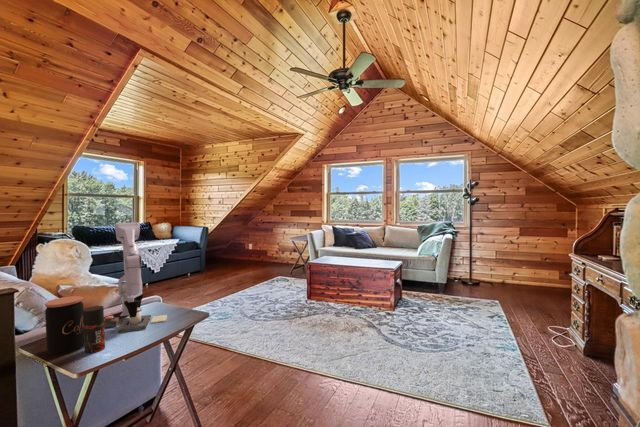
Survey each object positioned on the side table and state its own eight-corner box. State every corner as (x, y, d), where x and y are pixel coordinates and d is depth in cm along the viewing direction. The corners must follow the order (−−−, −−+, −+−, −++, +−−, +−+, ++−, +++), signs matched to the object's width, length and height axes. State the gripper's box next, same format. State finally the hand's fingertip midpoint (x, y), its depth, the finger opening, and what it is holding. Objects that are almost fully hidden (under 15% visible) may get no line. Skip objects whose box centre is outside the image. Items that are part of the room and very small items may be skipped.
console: (103, 324, 135) (102, 319, 135) (119, 322, 137) (118, 317, 137) (99, 328, 130) (99, 323, 130) (116, 326, 132) (115, 320, 132)
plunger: (106, 324, 134) (105, 316, 134) (114, 322, 136) (114, 315, 135) (104, 326, 131) (103, 318, 131) (112, 325, 133) (112, 317, 132)
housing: (125, 321, 138) (125, 318, 138) (150, 317, 142) (150, 314, 142) (117, 333, 125) (117, 329, 125) (145, 328, 129) (145, 325, 129)
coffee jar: (64, 357, 106) (62, 305, 105) (38, 355, 107) (36, 304, 107) (92, 343, 116) (90, 296, 116) (68, 341, 118) (66, 295, 118)
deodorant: (94, 354, 107) (92, 311, 107) (80, 352, 108) (78, 310, 108) (109, 346, 113) (107, 306, 113) (95, 345, 114) (94, 305, 114)
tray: (153, 317, 142) (153, 316, 142) (167, 315, 144) (167, 314, 144) (150, 323, 135) (150, 322, 135) (165, 321, 137) (165, 320, 137)
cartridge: (130, 324, 135) (129, 308, 135) (142, 322, 137) (142, 306, 136) (127, 328, 130) (127, 311, 130) (140, 326, 132) (140, 310, 132)
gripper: (126, 280, 138) (128, 310, 139) (118, 288, 125) (120, 321, 125) (144, 278, 141) (145, 308, 141) (138, 286, 127) (139, 318, 128)
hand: (135, 314), depth 133 cm, fingers open, 7 cm apart
